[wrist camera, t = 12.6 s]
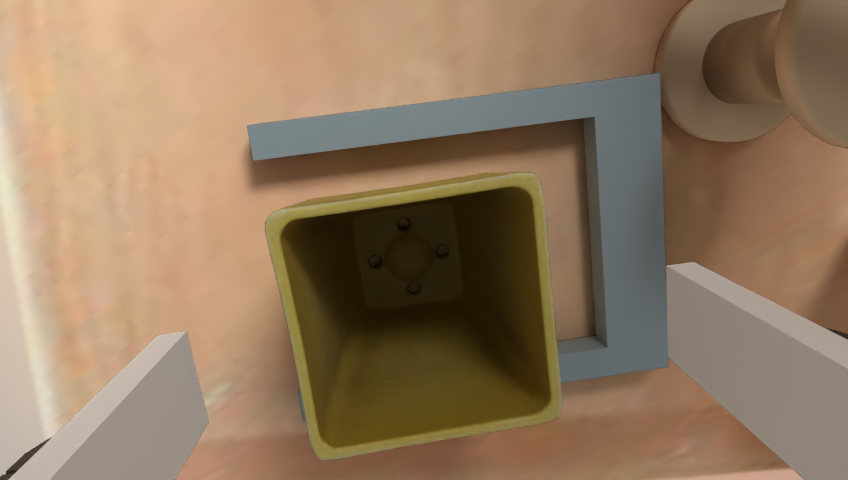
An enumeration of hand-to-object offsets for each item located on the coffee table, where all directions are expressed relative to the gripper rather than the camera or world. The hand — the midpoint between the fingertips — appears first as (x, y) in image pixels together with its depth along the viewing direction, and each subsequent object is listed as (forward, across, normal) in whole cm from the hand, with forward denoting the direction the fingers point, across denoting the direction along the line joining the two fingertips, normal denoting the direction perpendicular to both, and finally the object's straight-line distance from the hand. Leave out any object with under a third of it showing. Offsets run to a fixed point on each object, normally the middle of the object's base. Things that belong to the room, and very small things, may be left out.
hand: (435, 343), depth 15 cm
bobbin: (+12, +16, +6) cm, 21 cm away
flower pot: (+12, 0, -1) cm, 12 cm away
